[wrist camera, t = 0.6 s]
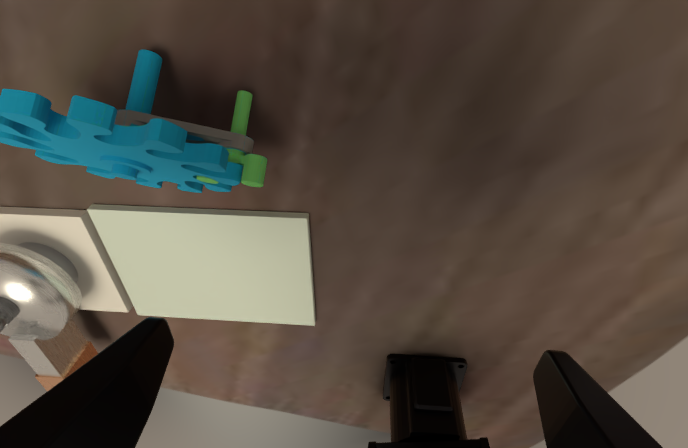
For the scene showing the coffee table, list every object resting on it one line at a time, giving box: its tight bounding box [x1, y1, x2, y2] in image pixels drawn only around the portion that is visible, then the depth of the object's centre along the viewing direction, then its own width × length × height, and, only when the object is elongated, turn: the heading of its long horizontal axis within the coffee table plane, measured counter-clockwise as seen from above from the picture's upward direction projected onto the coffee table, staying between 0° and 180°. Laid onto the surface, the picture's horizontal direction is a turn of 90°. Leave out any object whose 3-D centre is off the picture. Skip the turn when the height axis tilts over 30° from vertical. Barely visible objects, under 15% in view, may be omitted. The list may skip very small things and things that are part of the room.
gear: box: [0, 50, 267, 193], centre depth 18 cm, size 11×6×10 cm
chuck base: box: [0, 207, 133, 312], centre depth 27 cm, size 9×9×2 cm
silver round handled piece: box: [0, 243, 98, 391], centre depth 26 cm, size 13×7×5 cm, turn 0°
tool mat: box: [87, 204, 316, 326], centre depth 27 cm, size 10×14×1 cm
